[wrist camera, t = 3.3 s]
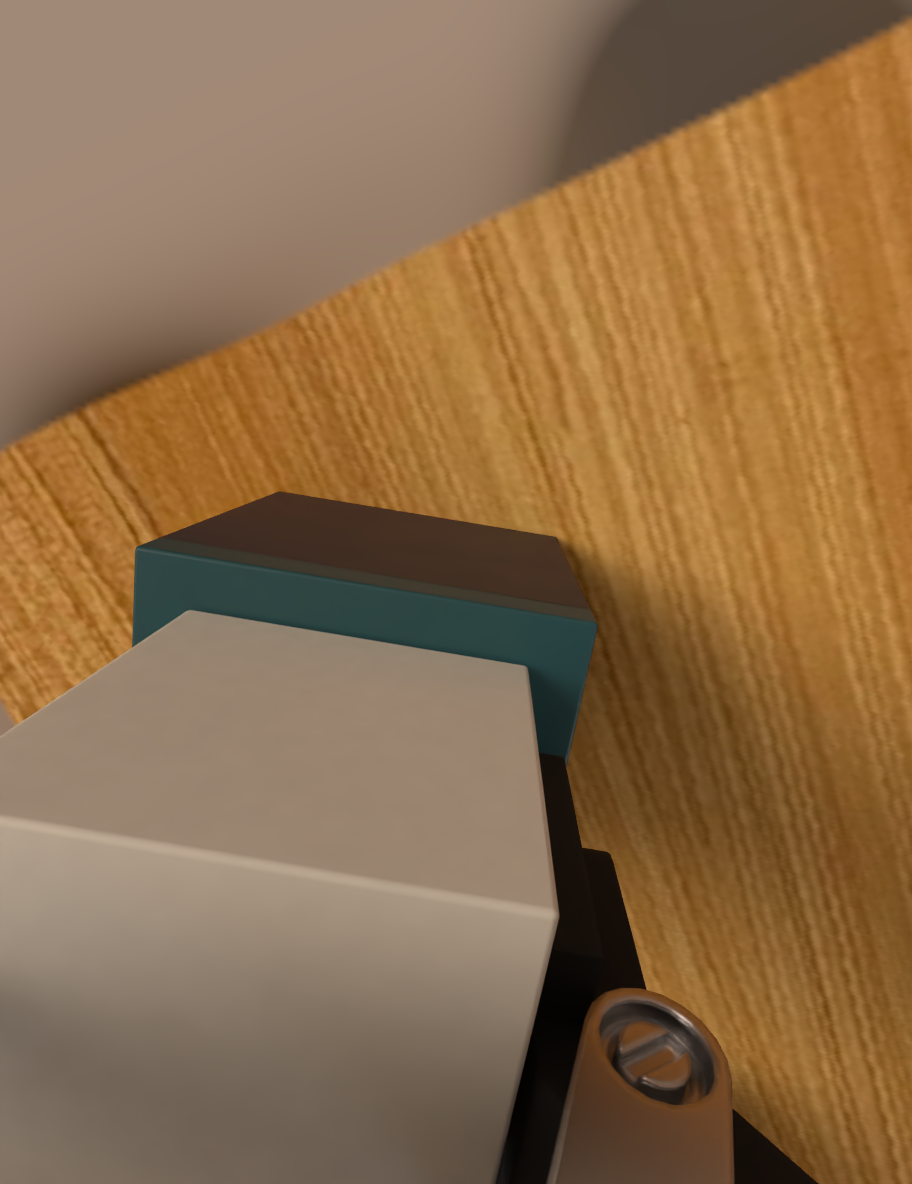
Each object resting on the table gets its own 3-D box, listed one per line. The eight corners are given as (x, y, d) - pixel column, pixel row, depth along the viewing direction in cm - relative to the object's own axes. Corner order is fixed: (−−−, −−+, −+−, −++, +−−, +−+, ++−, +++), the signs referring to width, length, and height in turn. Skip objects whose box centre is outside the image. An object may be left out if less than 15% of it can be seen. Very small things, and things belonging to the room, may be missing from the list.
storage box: (277, 491, 17) (133, 546, 10) (556, 536, 17) (599, 623, 10) (256, 742, 19) (121, 931, 12) (507, 785, 19) (514, 1000, 12)
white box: (187, 607, 10) (-105, 802, 5) (528, 664, 10) (562, 915, 5) (173, 894, 12) (-68, 1262, 7) (472, 945, 12) (456, 1356, 7)
